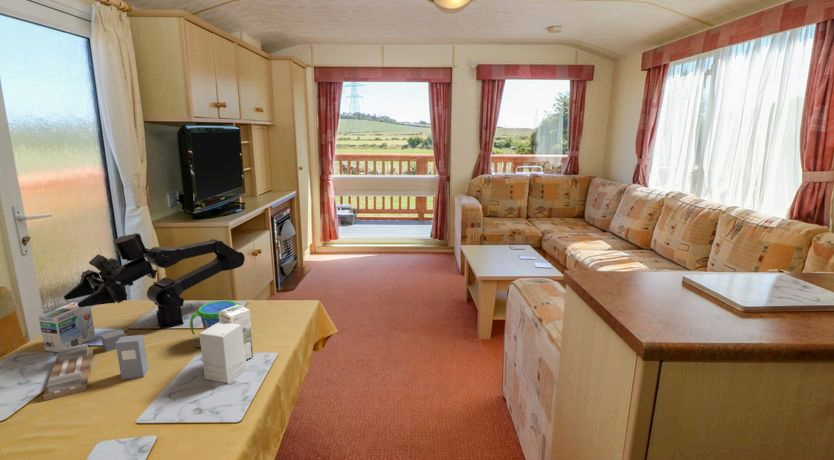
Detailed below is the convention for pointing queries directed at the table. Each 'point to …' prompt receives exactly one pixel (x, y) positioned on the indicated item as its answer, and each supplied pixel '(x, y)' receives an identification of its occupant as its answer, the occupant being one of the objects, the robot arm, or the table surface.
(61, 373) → the rail board
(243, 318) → the syrup box
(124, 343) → the block
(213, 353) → the supplement box
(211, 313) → the snack cup
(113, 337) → the block
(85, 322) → the light bulb box
